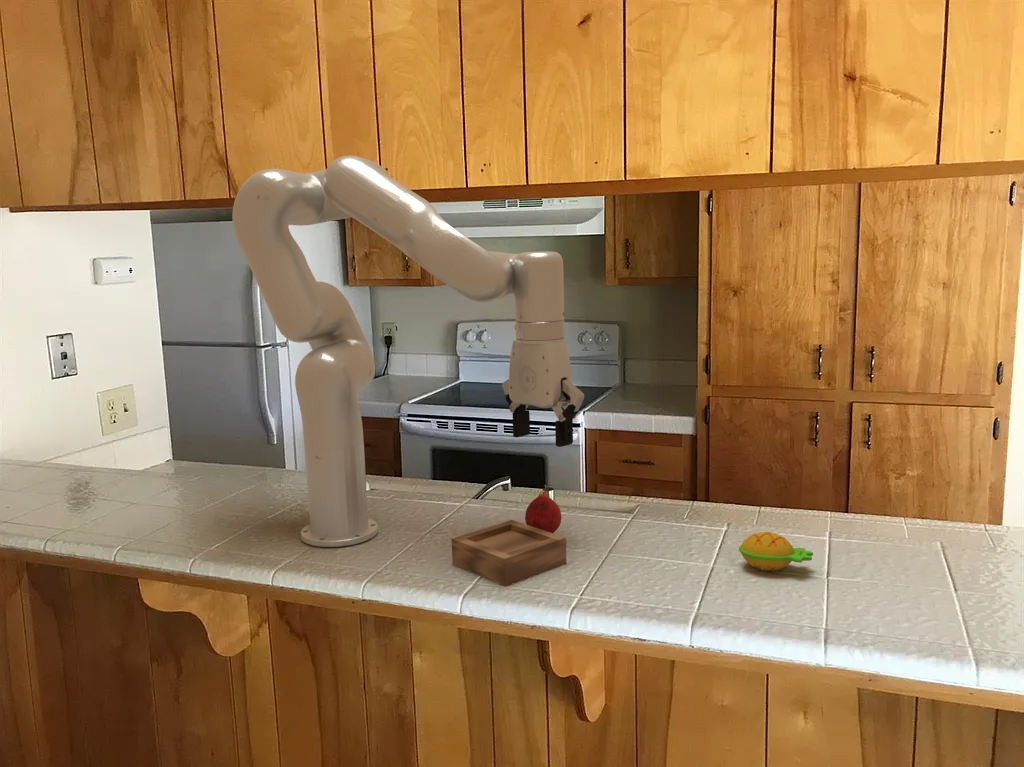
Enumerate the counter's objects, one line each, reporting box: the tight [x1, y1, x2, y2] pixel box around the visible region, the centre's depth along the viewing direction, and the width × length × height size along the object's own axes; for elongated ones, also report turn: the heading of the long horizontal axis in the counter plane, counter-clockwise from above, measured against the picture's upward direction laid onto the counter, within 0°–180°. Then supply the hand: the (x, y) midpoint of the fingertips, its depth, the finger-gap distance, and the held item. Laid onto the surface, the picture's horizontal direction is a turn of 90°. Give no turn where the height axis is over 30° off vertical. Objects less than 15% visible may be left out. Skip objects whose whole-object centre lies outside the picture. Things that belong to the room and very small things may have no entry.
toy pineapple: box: [738, 531, 814, 572], centre depth 120 cm, size 7×10×5 cm
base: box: [450, 519, 567, 587], centre depth 125 cm, size 12×12×4 cm
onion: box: [524, 490, 562, 534], centre depth 135 cm, size 6×6×8 cm
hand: (542, 440), depth 133 cm, fingers open, 9 cm apart
